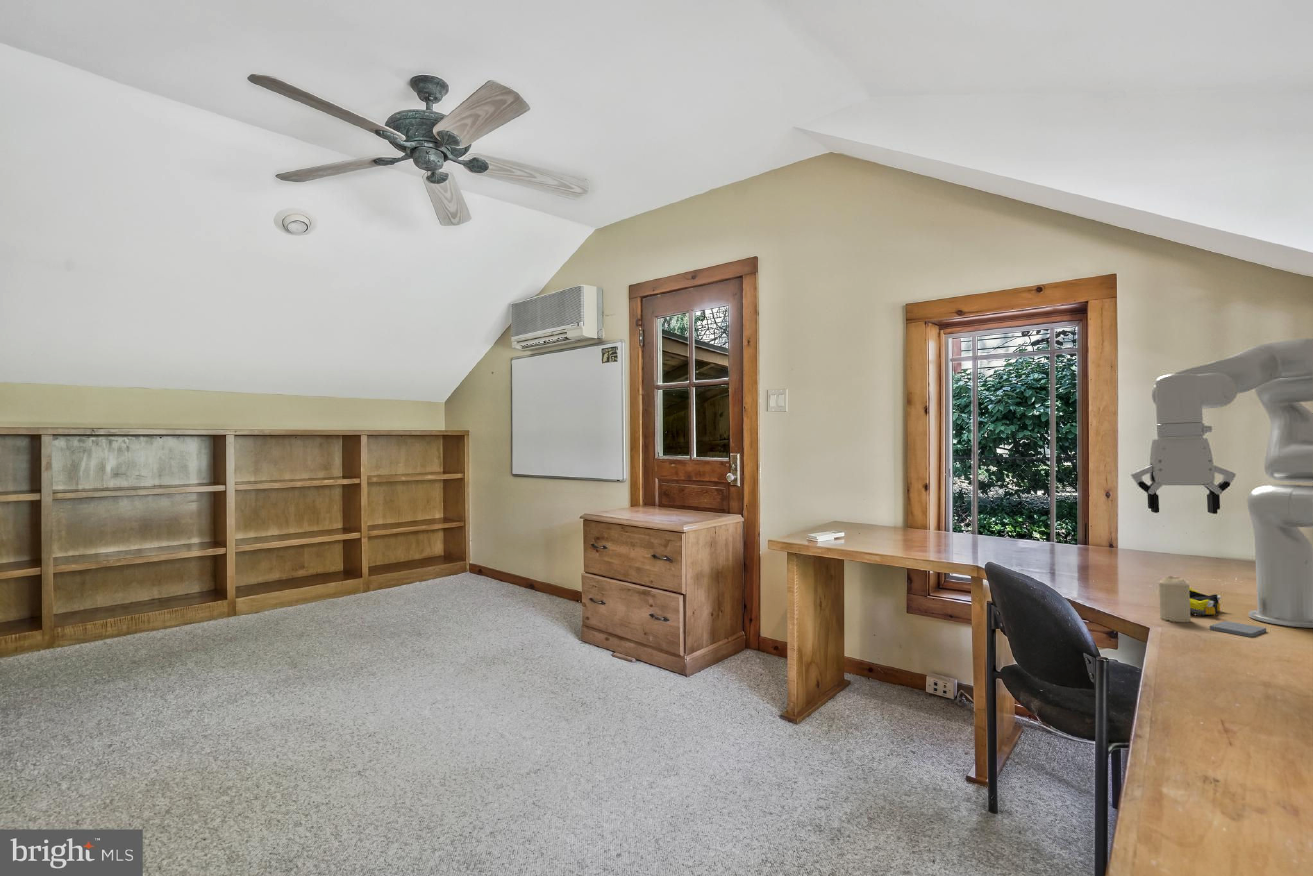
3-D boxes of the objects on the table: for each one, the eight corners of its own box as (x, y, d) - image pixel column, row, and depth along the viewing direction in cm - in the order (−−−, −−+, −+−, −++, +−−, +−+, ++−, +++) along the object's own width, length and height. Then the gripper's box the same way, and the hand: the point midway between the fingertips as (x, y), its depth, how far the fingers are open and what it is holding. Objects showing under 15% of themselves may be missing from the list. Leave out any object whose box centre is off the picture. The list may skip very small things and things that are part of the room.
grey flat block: (1225, 624, 142) (1225, 620, 142) (1266, 631, 136) (1266, 628, 136) (1209, 629, 138) (1209, 625, 138) (1251, 637, 132) (1251, 633, 132)
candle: (1166, 621, 145) (1164, 578, 145) (1156, 616, 150) (1154, 574, 151) (1195, 623, 143) (1193, 579, 144) (1183, 617, 148) (1182, 575, 149)
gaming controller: (1158, 612, 154) (1211, 620, 146) (1157, 590, 154) (1210, 596, 147) (1173, 602, 164) (1224, 609, 156) (1172, 581, 164) (1223, 587, 156)
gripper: (1225, 431, 132) (1229, 511, 132) (1125, 434, 139) (1128, 510, 139) (1240, 430, 125) (1244, 515, 125) (1134, 433, 133) (1137, 513, 132)
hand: (1183, 512), depth 132 cm, fingers open, 9 cm apart
